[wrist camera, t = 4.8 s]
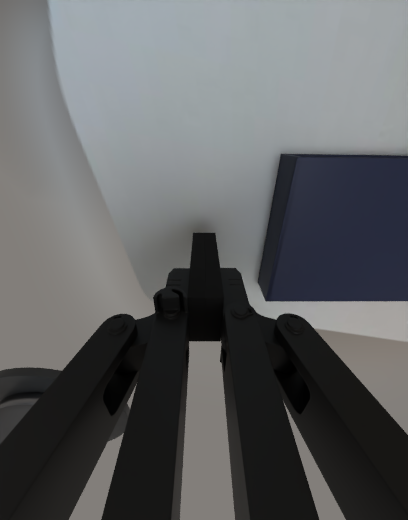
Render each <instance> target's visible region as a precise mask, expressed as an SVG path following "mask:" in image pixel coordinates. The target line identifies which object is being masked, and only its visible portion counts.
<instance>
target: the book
mask: <svg viewBox="0 0 408 520" xmlns="http://www.w3.org/2000/svg"><path fill="white" fill-rule="evenodd" d="M258 283H259V286H260V288H261V291H262V293H263V296H264V298H265V301H408V156H396V155H319V154H281V159H280V164H279V169H278V175H277V180H276V186H275V191H274V197H273V202H272V208H271V213H270V218H269V224H268V229H267V235H266V240H265V246H264V251H263V257H262V262H261V268H260V273H259V278H258Z"/></svg>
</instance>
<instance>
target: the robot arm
mask: <svg viewBox="0 0 408 520" xmlns="http://www.w3.org/2000/svg"><path fill="white" fill-rule="evenodd" d="M153 299H154V305H155V313H154V314H152V315H151V316H148V317H145V318H141V319H137V320H135V319H134V318H133V317H132V316H131V315H128V314H119V315H114V316H112V317H111V318H108V319H107V320H106V321H105V322H104V323H103V324H102V325H101V326H100V327H99V328H98V329H97V331H96V332H95V333H94V334H93V335H92V336H91V338H90V339H89V340H88V341H87V342H86V343H85V345H84V346H83V347H82V348H81V350H80V351H79V352H78V353H77V354H76V355H75V356H74V358H73V359H72V360H71V361H70V362H69V364H68V365H67V366H66V367H65V368H64V370H63V371H62V372H61V373H60V374H59V375H58V377H57V378H56V379H55V380H54V381H53V382H52V384H51V385H50V386H49V387H48V388H47V390H46V391H45V392H25V393H18V394H14V395H11V396H8V397H6V398H5V399H3V400H2V401H1V402H0V520H69V517H70V516H71V514H72V512H73V510H74V508H75V506H76V503H77V502H78V500H79V497H80V496H81V494H82V492H83V490H84V488H85V486H86V484H87V482H88V480H89V478H90V476H91V474H92V472H93V470H94V468H95V466H96V464H97V461H98V460H99V458H100V456H101V454H102V452H103V450H104V448H105V446H106V444H107V442H108V440H109V438H110V436H111V434H112V432H113V430H114V428H115V426H116V424H117V422H118V420H119V418H120V416H121V414H122V412H123V410H124V408H125V406H126V404H127V402H128V400H129V398H130V396H131V394H132V392H133V390H134V387H135V386H136V389H135V393H134V397H133V401H132V405H131V409H130V412H129V416H128V420H127V424H126V427H125V431H124V435H123V439H122V443H121V447H120V450H119V454H118V458H117V462H116V466H115V470H114V474H113V477H112V481H111V485H110V489H109V492H108V497H107V500H106V504H105V508H104V512H103V516H102V519H101V520H180V503H181V502H180V501H181V486H182V468H183V450H184V433H185V414H186V397H187V379H188V363H189V341H221V343H222V346H221V357H220V362H222V370H223V382H224V394H225V404H226V417H227V429H228V441H229V452H230V464H231V474H232V488H233V499H234V511H235V520H319V517H318V514H317V511H316V507H315V504H314V501H313V497H312V494H311V491H310V488H309V484H308V481H307V478H306V475H305V472H304V468H303V465H302V461H301V458H300V455H299V452H298V448H297V445H296V442H295V439H294V435H293V432H292V429H291V426H290V423H289V419H288V416H287V412H286V409H285V406H284V403H285V405H286V407H287V409H288V410H289V412H290V414H291V416H292V418H293V420H294V422H295V424H296V425H297V428H298V429H299V431H300V433H301V435H302V437H303V439H304V441H305V443H306V445H307V447H308V448H309V450H310V452H311V454H312V456H313V458H314V460H315V462H316V464H317V465H318V467H319V469H320V471H321V473H322V475H323V477H324V479H325V481H326V482H327V484H328V486H329V488H330V490H331V492H332V494H333V496H334V498H335V500H336V501H337V503H338V505H339V507H340V509H341V511H342V513H343V515H344V517H345V519H346V520H408V435H407V434H406V433H405V432H404V430H403V429H402V428H401V427H400V426H399V425H398V424H397V422H396V421H395V420H394V419H393V418H392V417H391V416H390V414H389V413H388V412H387V411H386V410H385V409H384V408H383V407H382V405H381V404H380V403H379V402H378V401H377V400H376V399H375V397H374V396H373V395H372V394H371V393H370V392H369V391H368V390H367V388H366V387H365V386H364V385H363V384H362V383H361V382H360V380H359V379H358V378H357V377H356V376H355V375H354V374H353V373H352V372H351V370H350V369H349V368H348V367H347V366H346V365H345V363H344V362H343V361H342V360H341V359H340V358H339V357H338V356H337V354H336V353H335V352H334V351H333V350H332V349H331V348H330V346H329V345H328V344H327V343H326V342H325V341H324V340H323V339H322V337H321V336H320V335H319V334H318V333H317V332H316V331H315V329H314V328H313V327H312V326H311V325H310V324H309V323H308V322H307V321H306V320H305V319H304V318H302V317H300V316H298V315H294V314H282V315H280V316H279V317H278V318H277V320H275V319H271V318H267V317H264V316H261V315H259V314H257V313H256V312H255V310H254V308H253V307H251V306H250V304H249V301H248V298H247V294H246V291H245V287H244V284H243V281H242V277H241V273H240V272H239V271H238V270H237V269H236V268H220V264H219V257H218V250H217V242H216V235H215V233H193V241H192V252H191V263H190V268H174V269H173V270H172V271H171V272H170V273H169V275H168V279H167V283H166V287H165V288H164V289H161V290H159V291H158V292H157V293H156V294H155V295H154V297H153ZM136 384H137V385H136ZM283 401H284V402H283Z"/></svg>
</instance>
